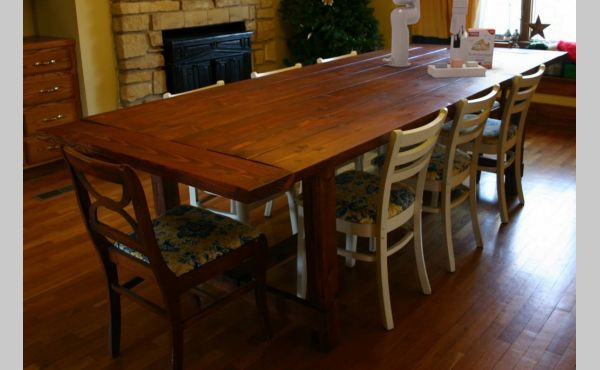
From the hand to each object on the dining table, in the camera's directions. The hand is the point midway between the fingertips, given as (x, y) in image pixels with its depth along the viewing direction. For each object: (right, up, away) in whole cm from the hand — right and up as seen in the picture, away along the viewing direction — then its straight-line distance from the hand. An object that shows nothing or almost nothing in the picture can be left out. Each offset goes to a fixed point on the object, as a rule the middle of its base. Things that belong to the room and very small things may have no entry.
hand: (456, 47), depth 317 cm
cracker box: (+18, -6, +22) cm, 29 cm away
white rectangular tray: (+1, -13, +4) cm, 14 cm away
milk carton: (+10, -1, +37) cm, 38 cm away
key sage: (+9, -12, +4) cm, 15 cm away
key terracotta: (+1, -11, +3) cm, 11 cm away
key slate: (-7, -12, +3) cm, 15 cm away
